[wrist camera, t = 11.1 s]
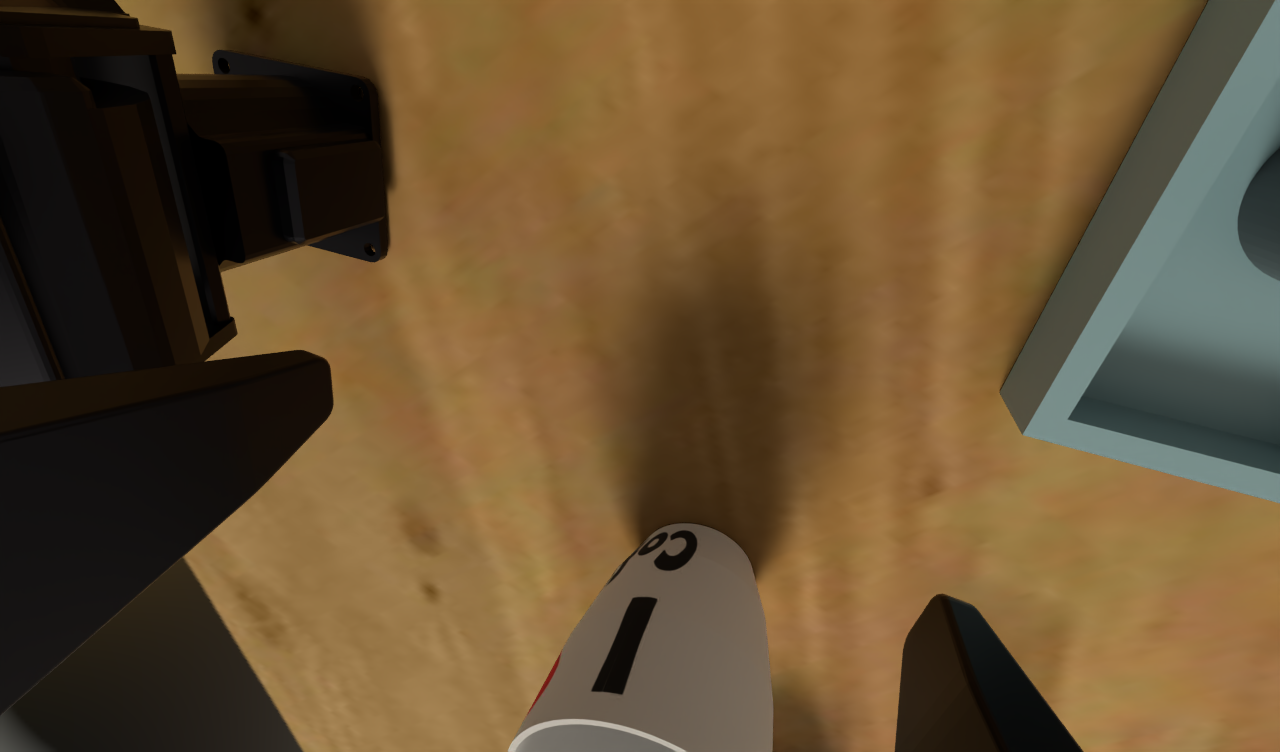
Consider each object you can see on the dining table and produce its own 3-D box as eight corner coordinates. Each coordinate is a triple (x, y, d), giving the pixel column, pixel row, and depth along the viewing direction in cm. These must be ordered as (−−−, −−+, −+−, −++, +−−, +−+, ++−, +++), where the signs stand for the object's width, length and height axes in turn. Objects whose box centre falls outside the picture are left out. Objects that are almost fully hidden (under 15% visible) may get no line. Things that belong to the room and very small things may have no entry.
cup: (699, 461, 23) (622, 685, 15) (831, 594, 24) (832, 876, 16) (576, 545, 27) (460, 759, 19) (694, 656, 28) (636, 906, 20)
